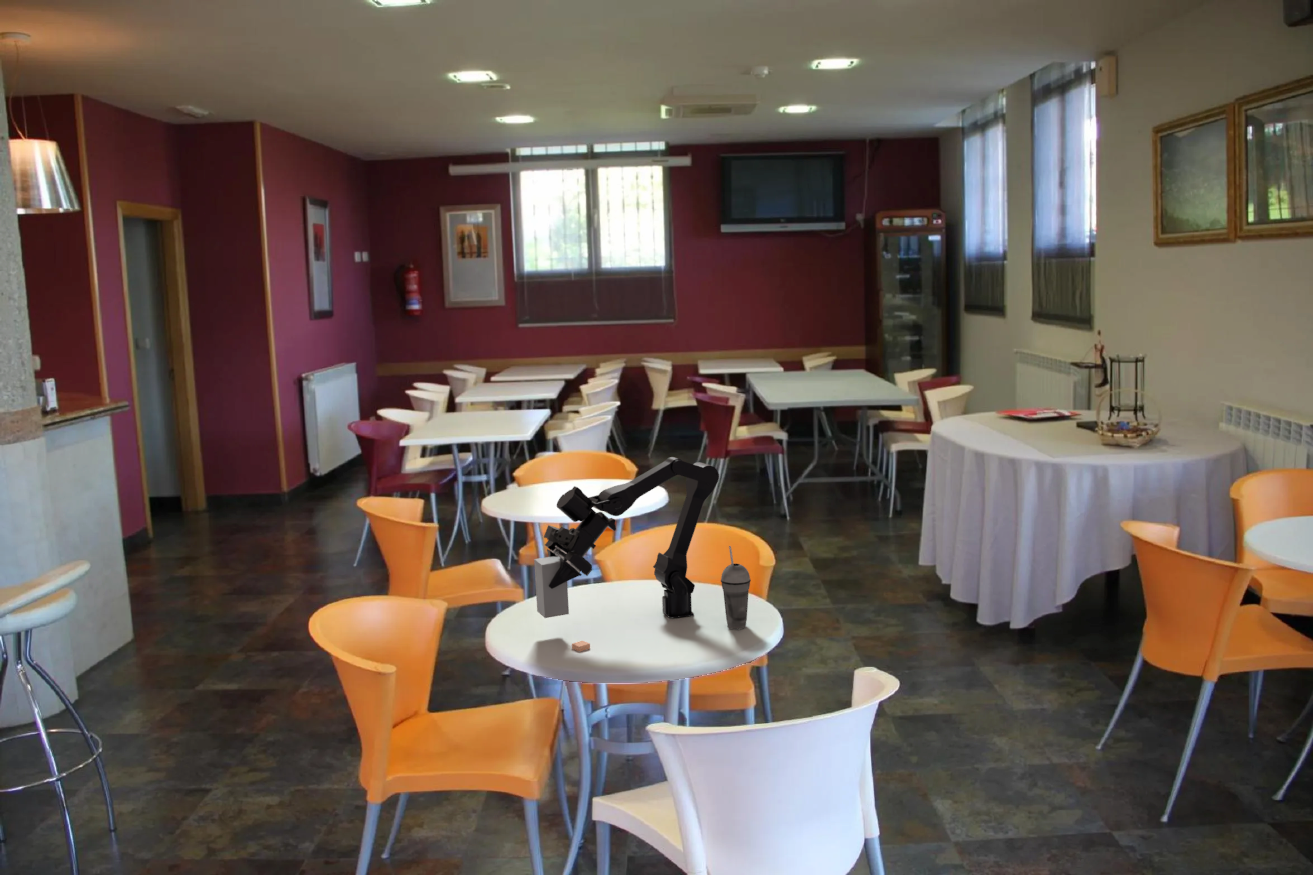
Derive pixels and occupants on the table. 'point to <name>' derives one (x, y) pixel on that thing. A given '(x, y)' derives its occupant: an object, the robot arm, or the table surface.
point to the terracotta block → (580, 645)
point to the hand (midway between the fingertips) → (545, 584)
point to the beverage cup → (735, 594)
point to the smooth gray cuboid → (547, 598)
